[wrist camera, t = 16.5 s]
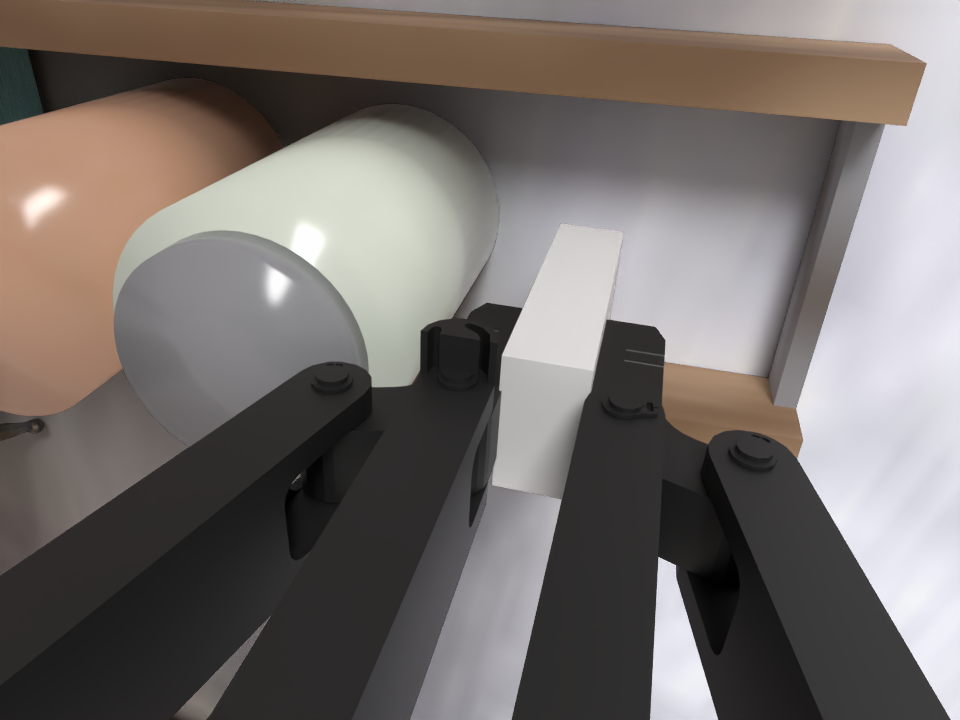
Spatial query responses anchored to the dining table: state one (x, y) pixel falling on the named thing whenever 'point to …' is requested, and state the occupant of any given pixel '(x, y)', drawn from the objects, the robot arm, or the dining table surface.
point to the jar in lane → (98, 220)
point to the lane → (565, 72)
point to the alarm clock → (20, 428)
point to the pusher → (17, 86)
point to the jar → (303, 266)
